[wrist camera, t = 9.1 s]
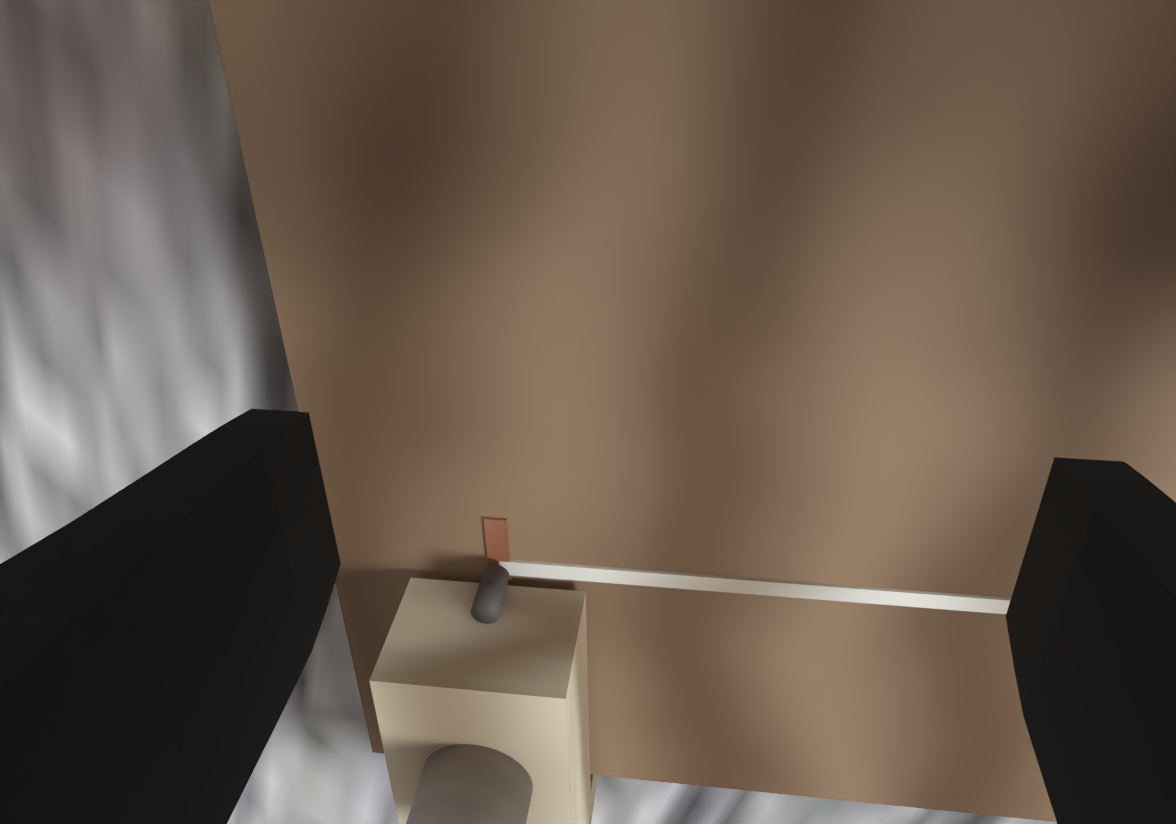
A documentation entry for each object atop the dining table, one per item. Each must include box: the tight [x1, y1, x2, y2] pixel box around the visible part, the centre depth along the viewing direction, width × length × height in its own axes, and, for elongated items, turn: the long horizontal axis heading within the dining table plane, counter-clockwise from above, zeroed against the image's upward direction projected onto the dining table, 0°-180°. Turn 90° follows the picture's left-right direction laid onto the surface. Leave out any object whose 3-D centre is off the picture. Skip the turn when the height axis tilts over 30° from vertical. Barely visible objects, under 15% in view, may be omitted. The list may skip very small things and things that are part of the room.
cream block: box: [369, 565, 598, 824], centre depth 22 cm, size 4×9×10 cm, turn 1°
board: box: [209, 0, 1176, 822], centre depth 21 cm, size 18×20×2 cm
